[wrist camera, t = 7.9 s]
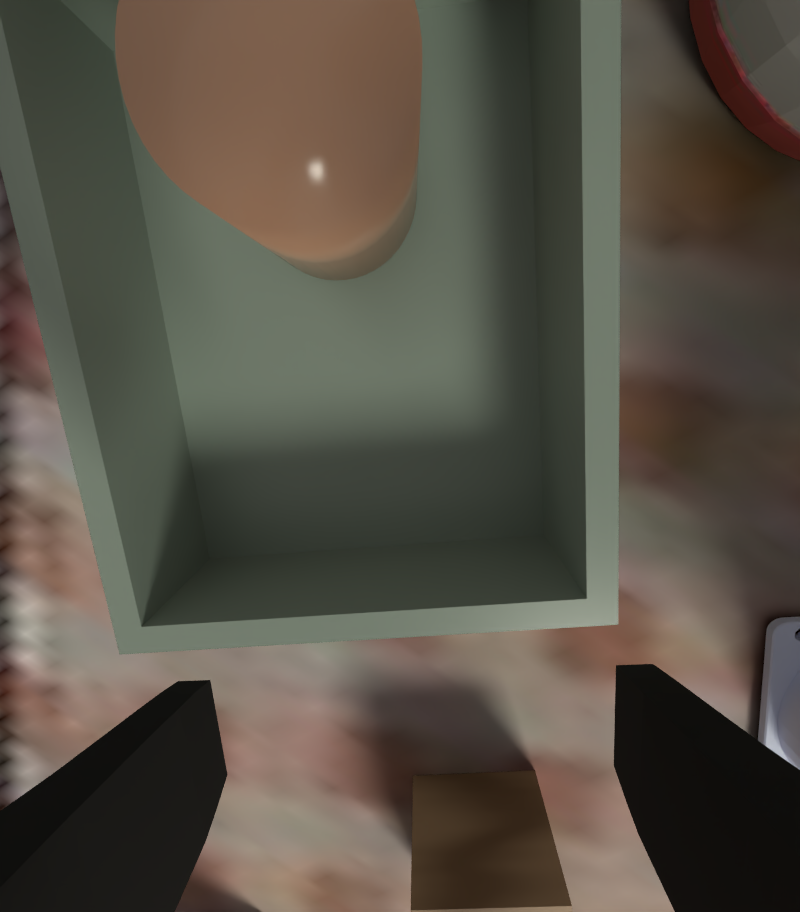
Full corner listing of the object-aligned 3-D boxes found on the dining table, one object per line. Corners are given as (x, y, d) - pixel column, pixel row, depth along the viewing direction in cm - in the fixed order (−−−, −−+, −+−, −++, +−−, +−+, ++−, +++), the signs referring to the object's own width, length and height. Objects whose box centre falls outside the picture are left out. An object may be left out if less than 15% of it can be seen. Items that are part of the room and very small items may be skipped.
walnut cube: (534, 768, 20) (571, 905, 15) (538, 865, 21) (574, 1022, 16) (413, 774, 20) (410, 910, 15) (423, 868, 21) (424, 1024, 16)
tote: (550, -28, 14) (622, -235, 9) (562, 547, 17) (618, 624, 13) (94, 36, 15) (-71, -123, 10) (199, 572, 18) (119, 654, 13)
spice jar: (408, 89, 14) (406, -156, 7) (424, 271, 15) (435, 208, 8) (239, 111, 14) (81, -107, 7) (267, 288, 15) (151, 242, 8)
